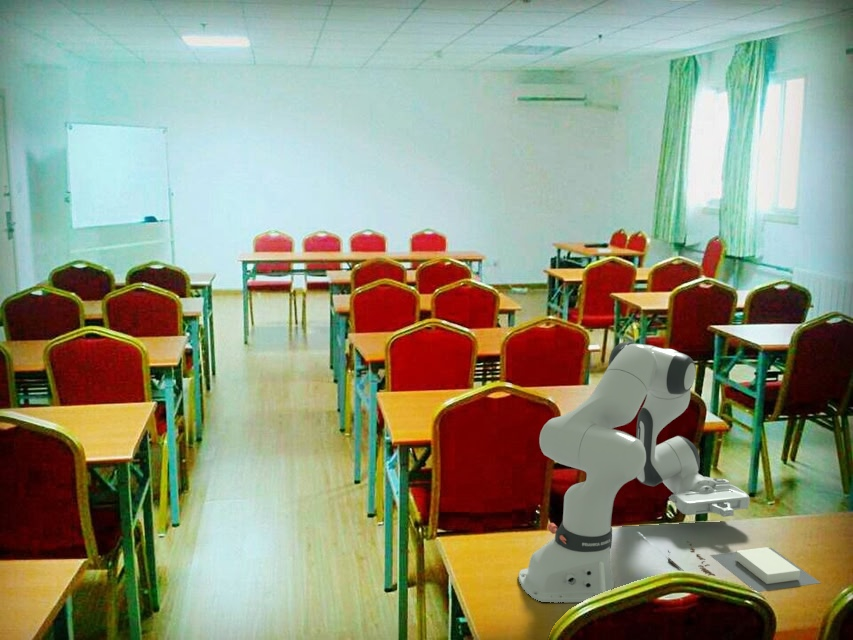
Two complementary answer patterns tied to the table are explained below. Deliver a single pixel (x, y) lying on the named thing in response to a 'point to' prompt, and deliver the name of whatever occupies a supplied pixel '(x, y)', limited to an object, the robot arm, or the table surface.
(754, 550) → the tile
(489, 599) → the table surface
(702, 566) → the wooden fragment
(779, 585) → the mat
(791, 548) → the table surface
